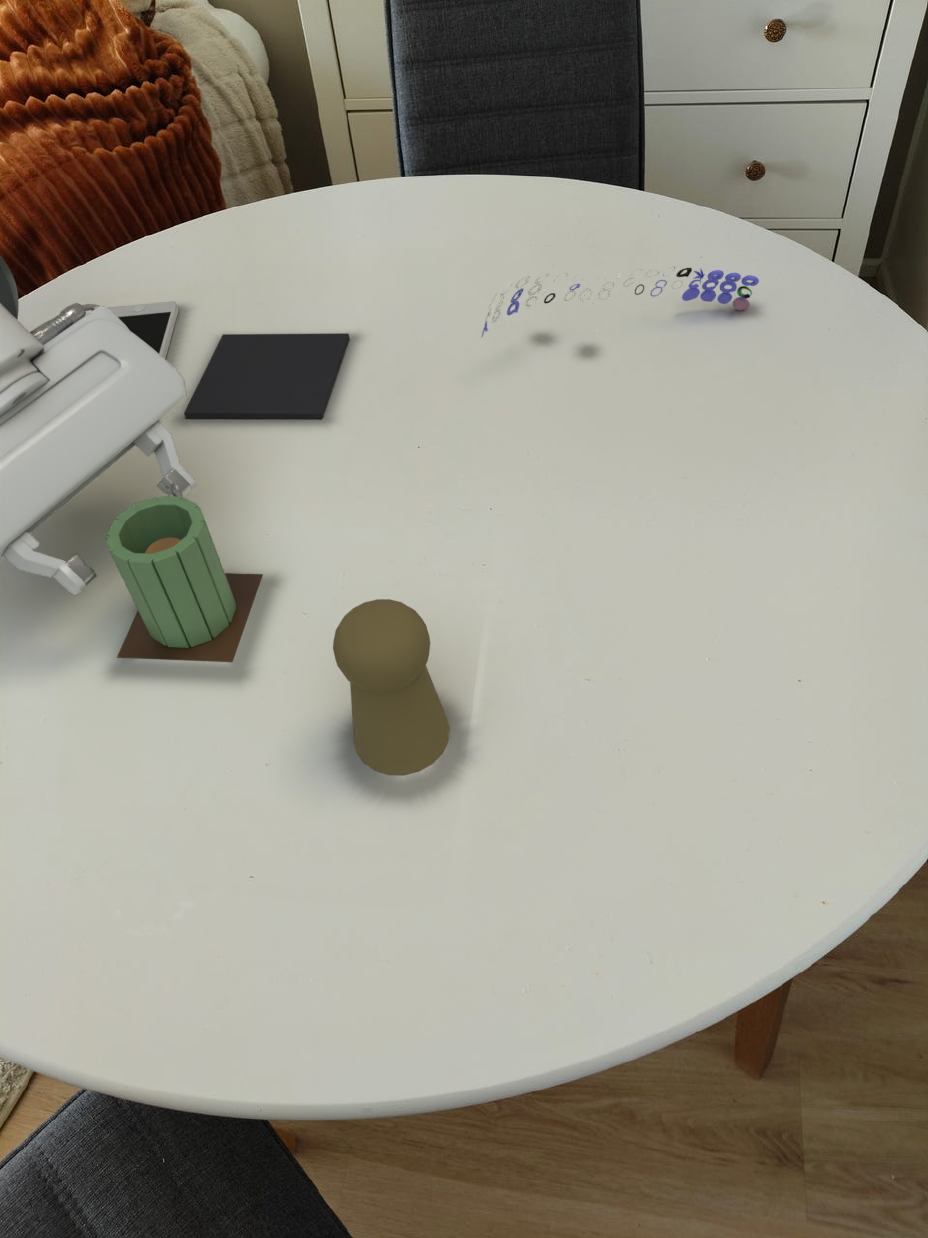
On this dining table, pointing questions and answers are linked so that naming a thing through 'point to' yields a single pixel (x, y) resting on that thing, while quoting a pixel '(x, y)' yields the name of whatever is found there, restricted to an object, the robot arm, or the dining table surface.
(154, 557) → the green tube
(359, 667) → the olive brown pawn
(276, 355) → the mat
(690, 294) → the ring set
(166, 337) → the smartphone
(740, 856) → the dining table surface
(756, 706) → the dining table surface
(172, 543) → the peg stand
